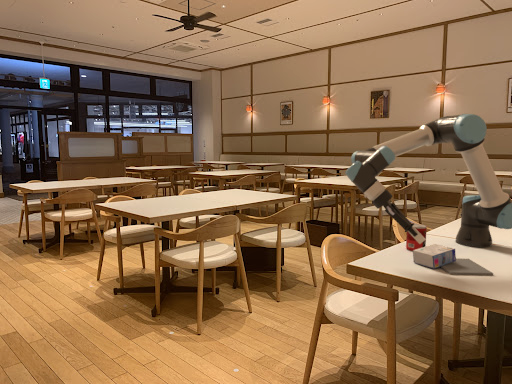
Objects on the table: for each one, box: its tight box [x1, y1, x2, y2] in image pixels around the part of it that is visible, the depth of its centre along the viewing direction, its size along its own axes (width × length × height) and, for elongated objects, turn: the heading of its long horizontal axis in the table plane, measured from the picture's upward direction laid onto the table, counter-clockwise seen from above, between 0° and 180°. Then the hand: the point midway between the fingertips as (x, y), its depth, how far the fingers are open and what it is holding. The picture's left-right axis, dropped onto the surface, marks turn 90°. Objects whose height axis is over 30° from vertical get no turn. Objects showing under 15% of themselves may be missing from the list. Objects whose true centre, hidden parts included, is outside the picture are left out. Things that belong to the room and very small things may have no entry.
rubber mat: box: [439, 258, 494, 276], centre depth 149 cm, size 15×18×1 cm
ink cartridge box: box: [412, 243, 457, 270], centre depth 153 cm, size 10×6×14 cm
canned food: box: [405, 223, 428, 252], centre depth 174 cm, size 8×8×11 cm
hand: (422, 241), depth 148 cm, fingers closed
